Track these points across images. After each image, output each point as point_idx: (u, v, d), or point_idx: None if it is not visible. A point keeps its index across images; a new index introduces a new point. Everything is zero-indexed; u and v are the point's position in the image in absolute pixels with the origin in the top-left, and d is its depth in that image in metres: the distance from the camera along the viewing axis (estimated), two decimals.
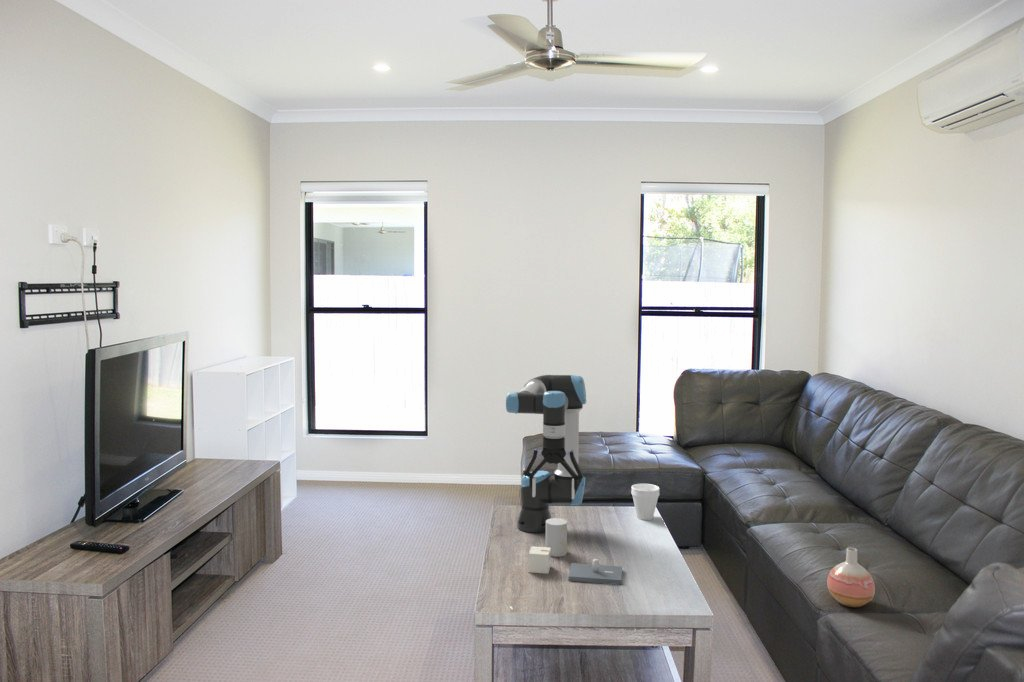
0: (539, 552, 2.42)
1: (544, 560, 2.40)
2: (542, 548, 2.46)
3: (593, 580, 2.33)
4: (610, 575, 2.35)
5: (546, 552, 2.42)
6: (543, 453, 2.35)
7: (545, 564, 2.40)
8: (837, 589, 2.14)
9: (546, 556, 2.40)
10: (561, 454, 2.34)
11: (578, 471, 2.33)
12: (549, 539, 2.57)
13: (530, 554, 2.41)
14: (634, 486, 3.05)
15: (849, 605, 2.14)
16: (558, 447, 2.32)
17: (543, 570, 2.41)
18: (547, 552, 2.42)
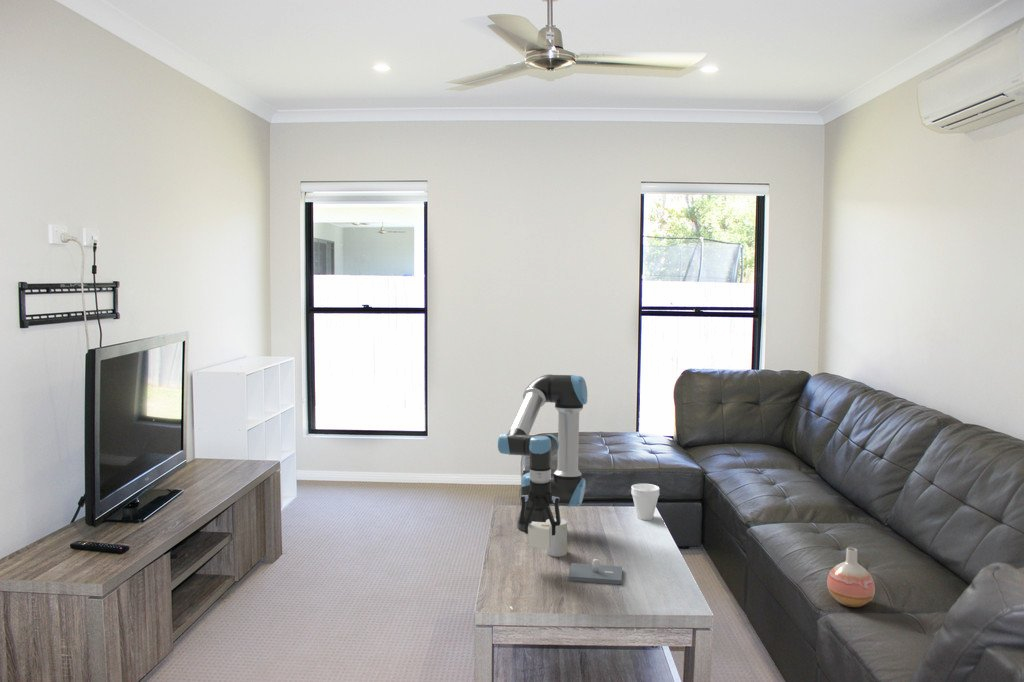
0: (539, 527, 2.42)
1: (544, 535, 2.40)
2: (542, 523, 2.46)
3: (593, 580, 2.33)
4: (610, 575, 2.35)
5: (546, 527, 2.42)
6: (530, 496, 2.42)
7: (545, 538, 2.40)
8: (837, 589, 2.14)
9: (546, 531, 2.40)
10: (548, 497, 2.41)
11: (557, 518, 2.41)
12: None
13: (530, 529, 2.41)
14: (634, 486, 3.05)
15: (849, 605, 2.14)
16: (544, 491, 2.39)
17: (544, 545, 2.40)
18: (547, 527, 2.42)
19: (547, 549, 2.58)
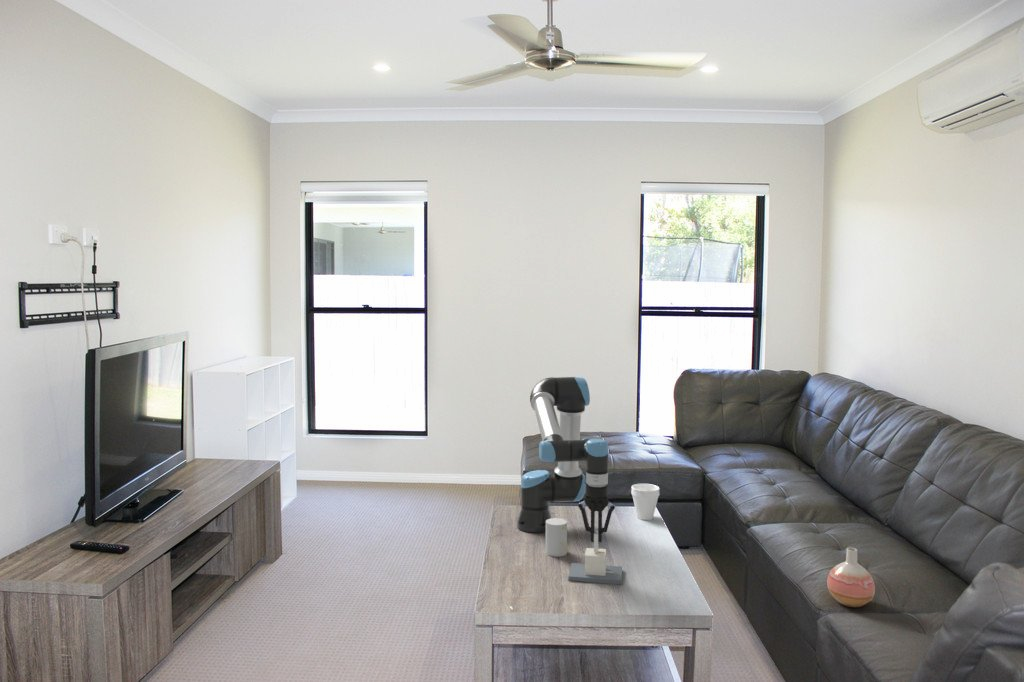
0: (595, 554, 2.36)
1: (601, 562, 2.35)
2: None
3: (593, 580, 2.33)
4: (610, 575, 2.35)
5: (602, 554, 2.36)
6: (586, 501, 2.37)
7: (602, 566, 2.35)
8: (837, 589, 2.14)
9: (603, 558, 2.34)
10: (605, 502, 2.36)
11: (606, 525, 2.36)
12: (549, 539, 2.57)
13: (586, 556, 2.35)
14: (634, 486, 3.05)
15: (849, 605, 2.14)
16: (602, 495, 2.34)
17: (600, 572, 2.35)
18: (603, 554, 2.36)
19: (547, 549, 2.58)
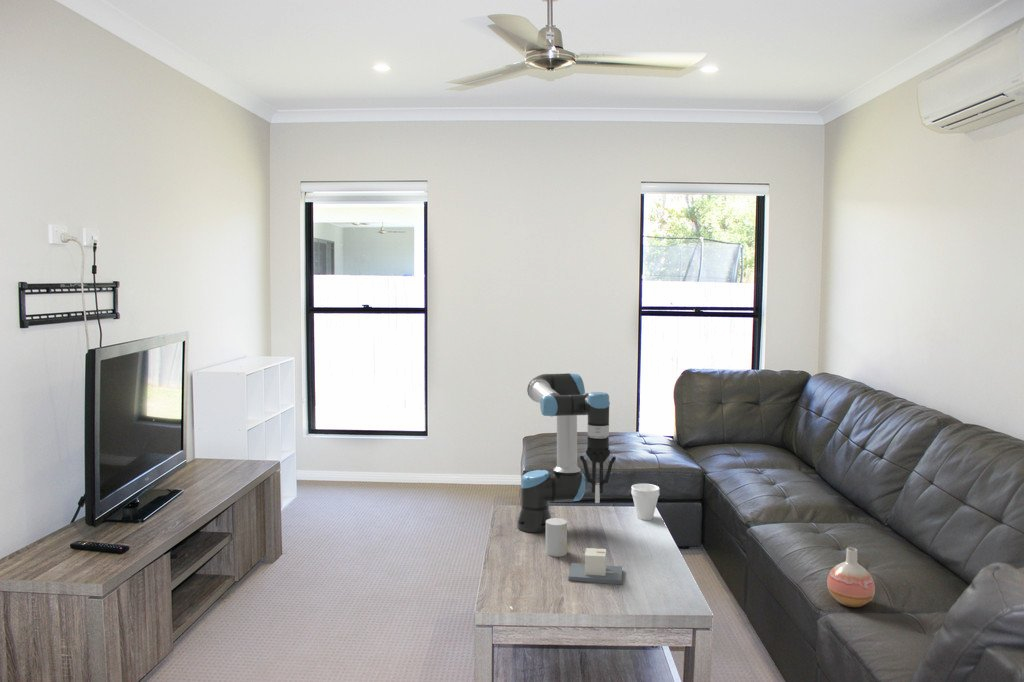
0: (595, 554, 2.36)
1: (601, 562, 2.35)
2: (597, 550, 2.40)
3: (593, 580, 2.33)
4: (610, 575, 2.35)
5: (602, 554, 2.36)
6: (588, 452, 2.42)
7: (602, 566, 2.35)
8: (837, 589, 2.14)
9: (603, 558, 2.34)
10: (606, 453, 2.40)
11: (607, 476, 2.41)
12: (549, 539, 2.57)
13: (586, 556, 2.35)
14: (634, 486, 3.05)
15: (849, 605, 2.14)
16: (603, 447, 2.38)
17: (600, 572, 2.35)
18: (603, 554, 2.36)
19: (547, 549, 2.58)
